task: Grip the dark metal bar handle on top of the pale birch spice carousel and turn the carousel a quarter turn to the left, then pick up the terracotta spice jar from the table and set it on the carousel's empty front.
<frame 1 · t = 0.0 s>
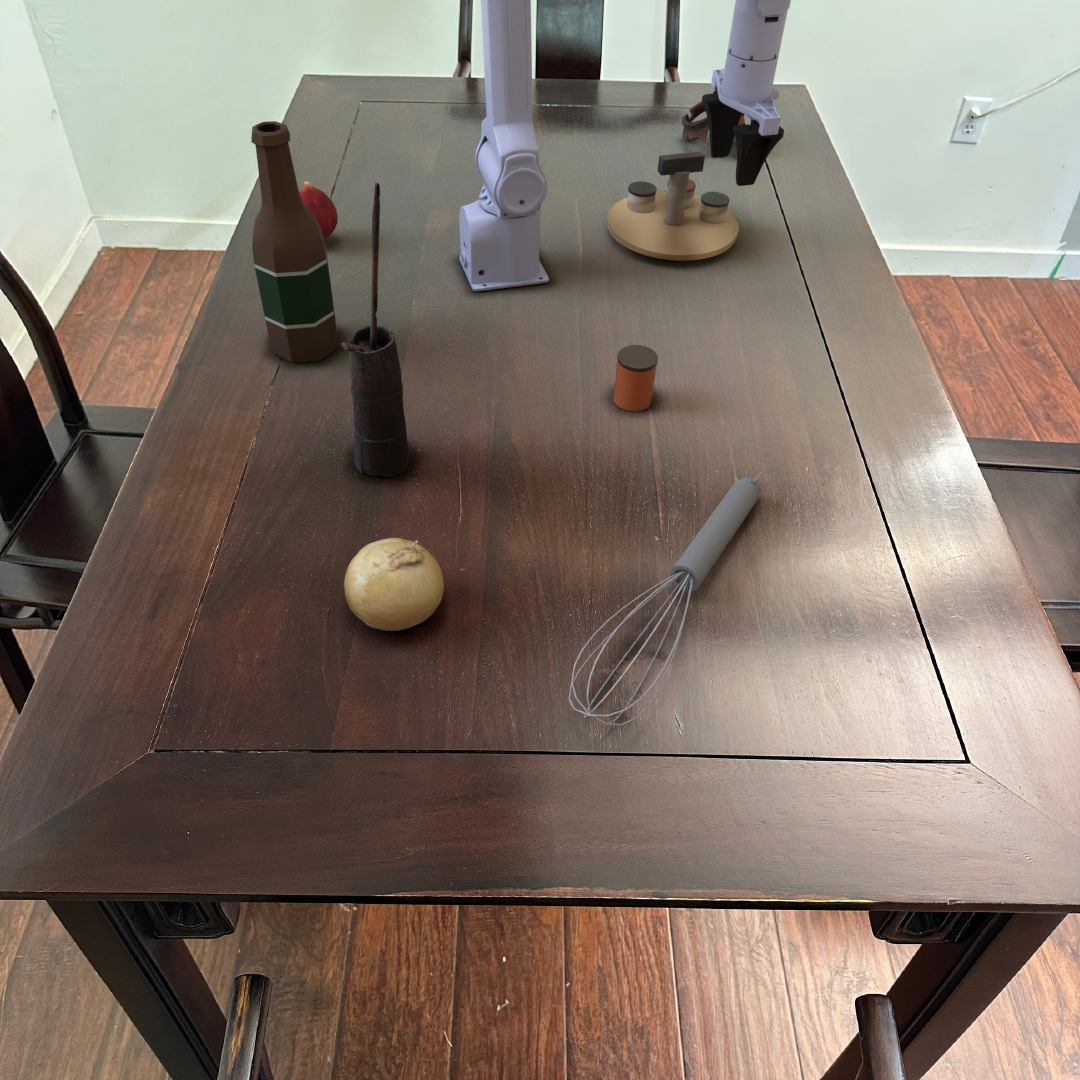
hand: (731, 170, 118), 10 cm above the table, tool pointing down, fingers open, 7 cm apart
brown curled loops: (717, 147, 146), on the table
butter churn: (373, 468, 93), on the table
spice carousel: (677, 192, 122), point 6 cm above the table, hinge at 0.0°
beer bottle: (305, 345, 107), on the table
onion: (317, 244, 122), on the table
kitchen whisk: (673, 600, 83), on the table
onion 2: (396, 608, 81), on the table
spice jar: (632, 399, 102), on the table
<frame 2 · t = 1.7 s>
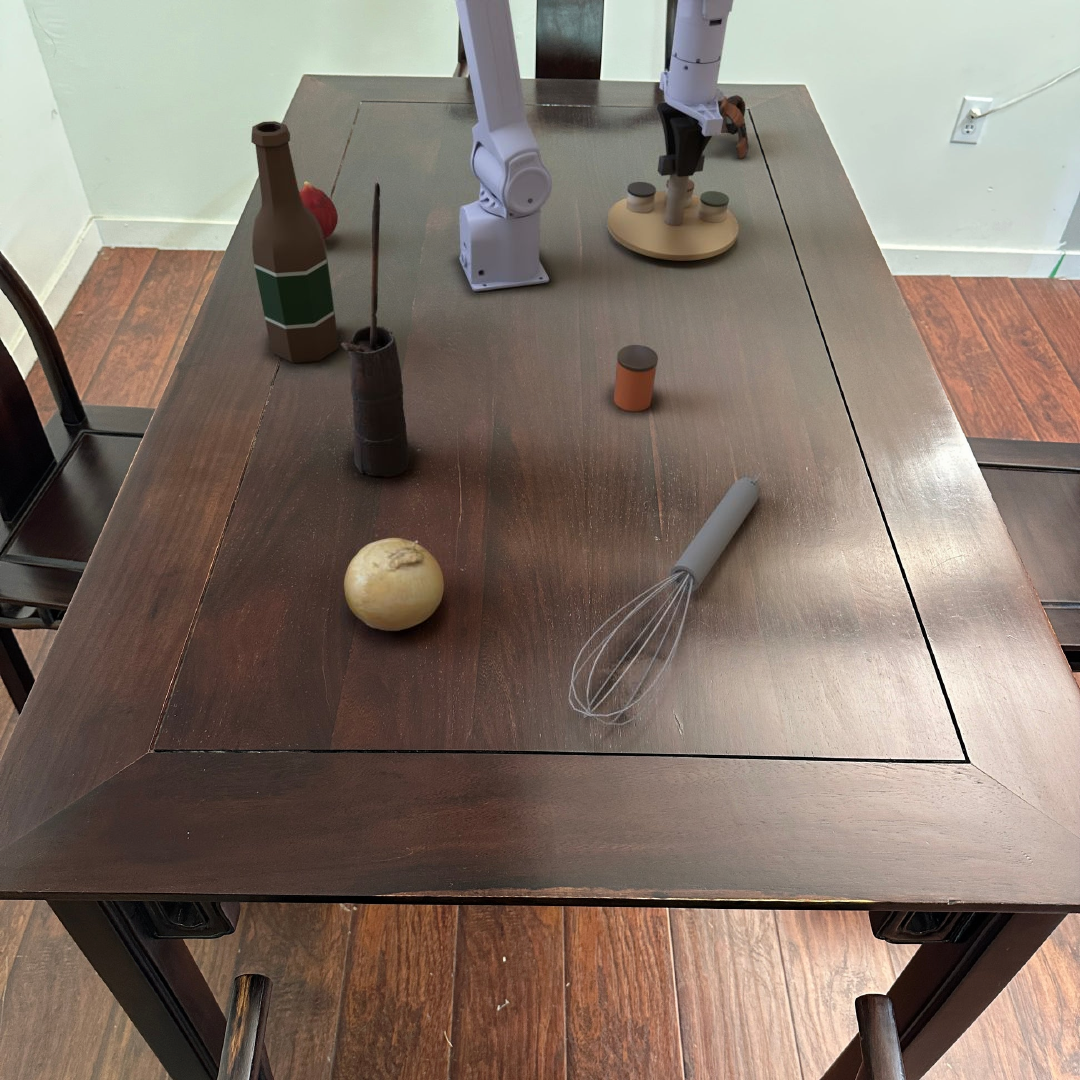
hand: (680, 169, 120), 9 cm above the table, tool pointing down, fingers closed on spice carousel, 2 cm apart
spice carousel: (677, 192, 122), point 6 cm above the table, hinge at 1.7°, touching gripper
everything else where it was.
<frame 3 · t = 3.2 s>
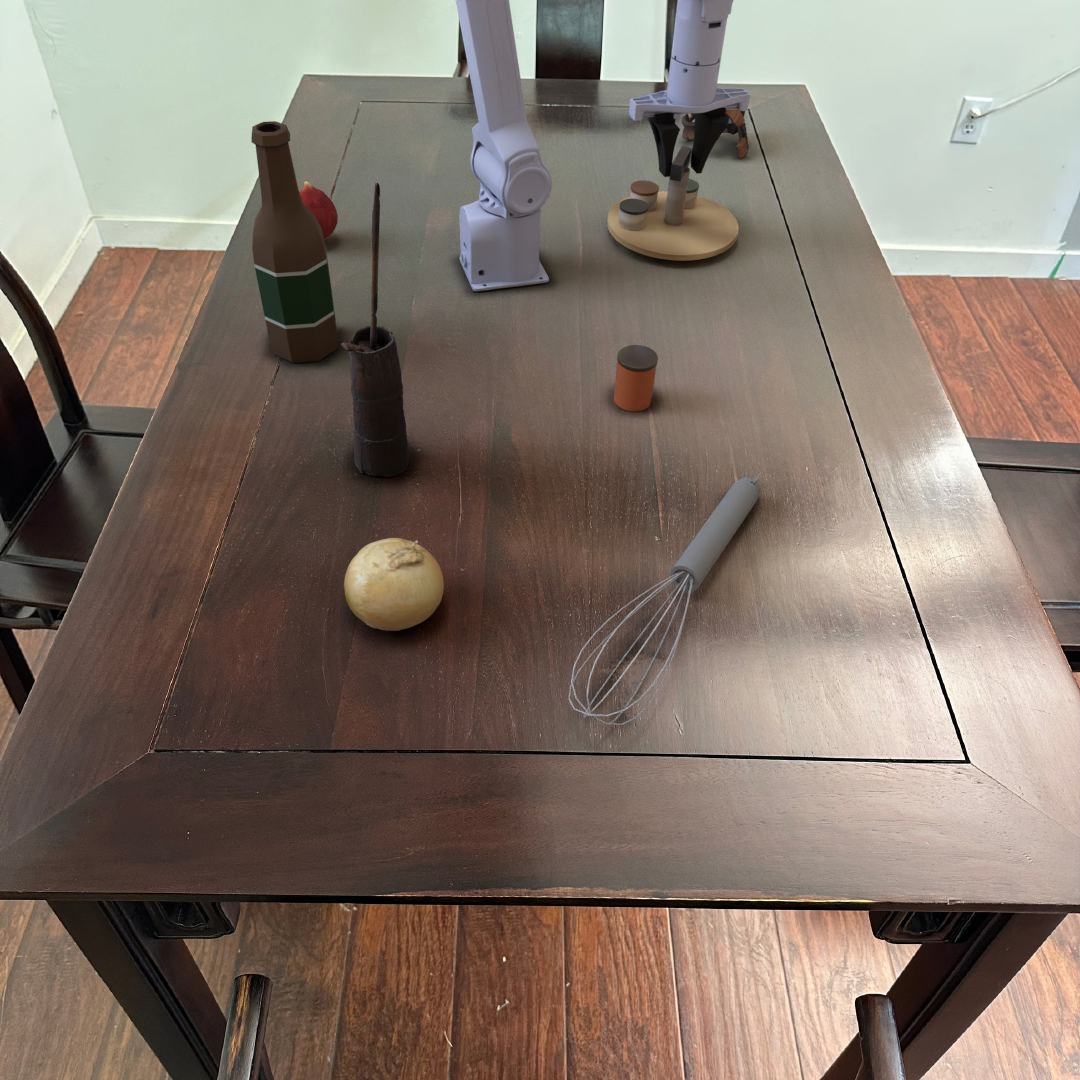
hand: (680, 171, 120), 9 cm above the table, tool pointing down, fingers closed on spice carousel, 4 cm apart
spice carousel: (677, 192, 122), point 6 cm above the table, hinge at 55.4°, touching gripper
everything else where it was.
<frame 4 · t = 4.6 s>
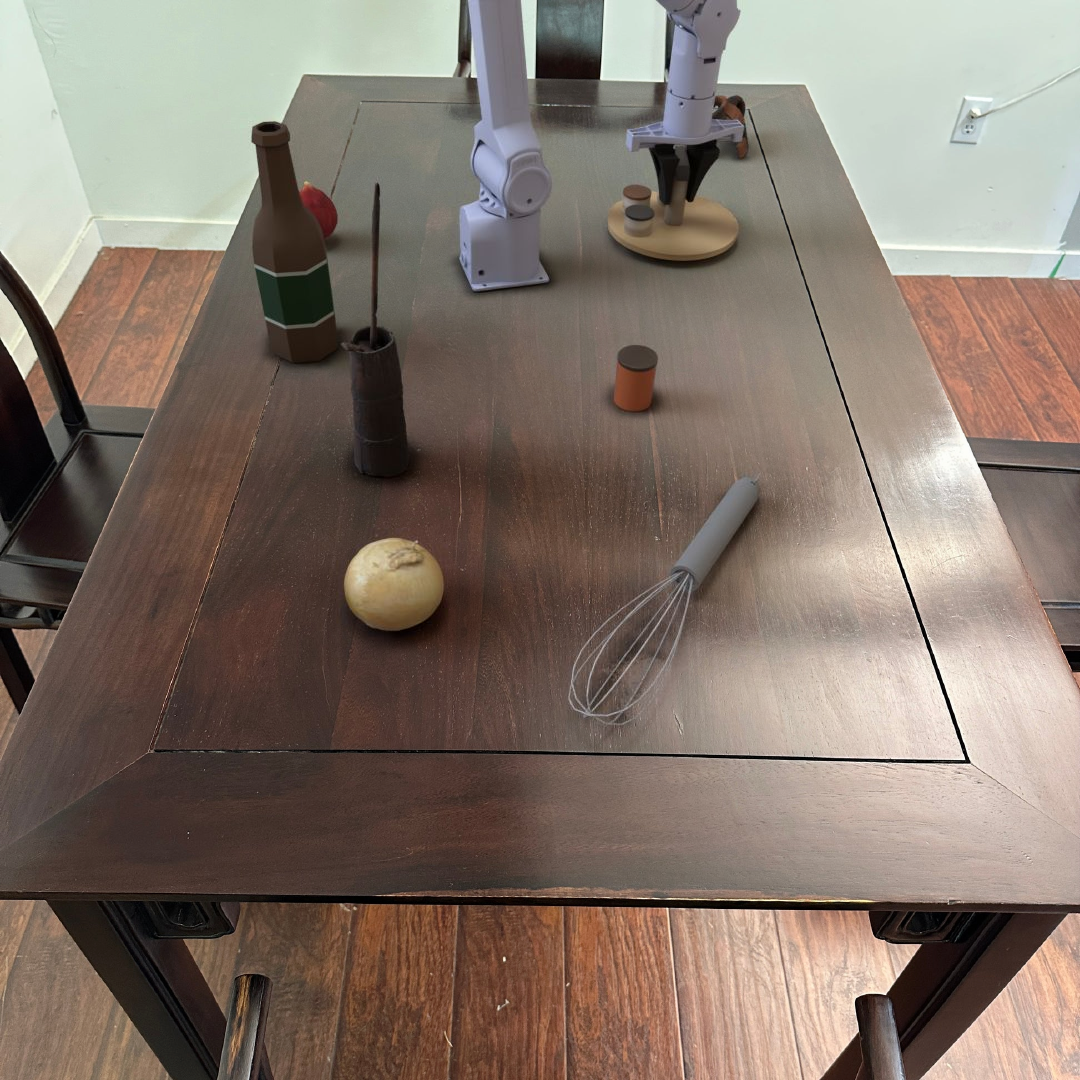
hand: (676, 200, 123), 5 cm above the table, tool pointing down, fingers closed on spice carousel, 3 cm apart
spice carousel: (677, 192, 122), point 6 cm above the table, hinge at 73.0°, touching gripper
everything else where it was.
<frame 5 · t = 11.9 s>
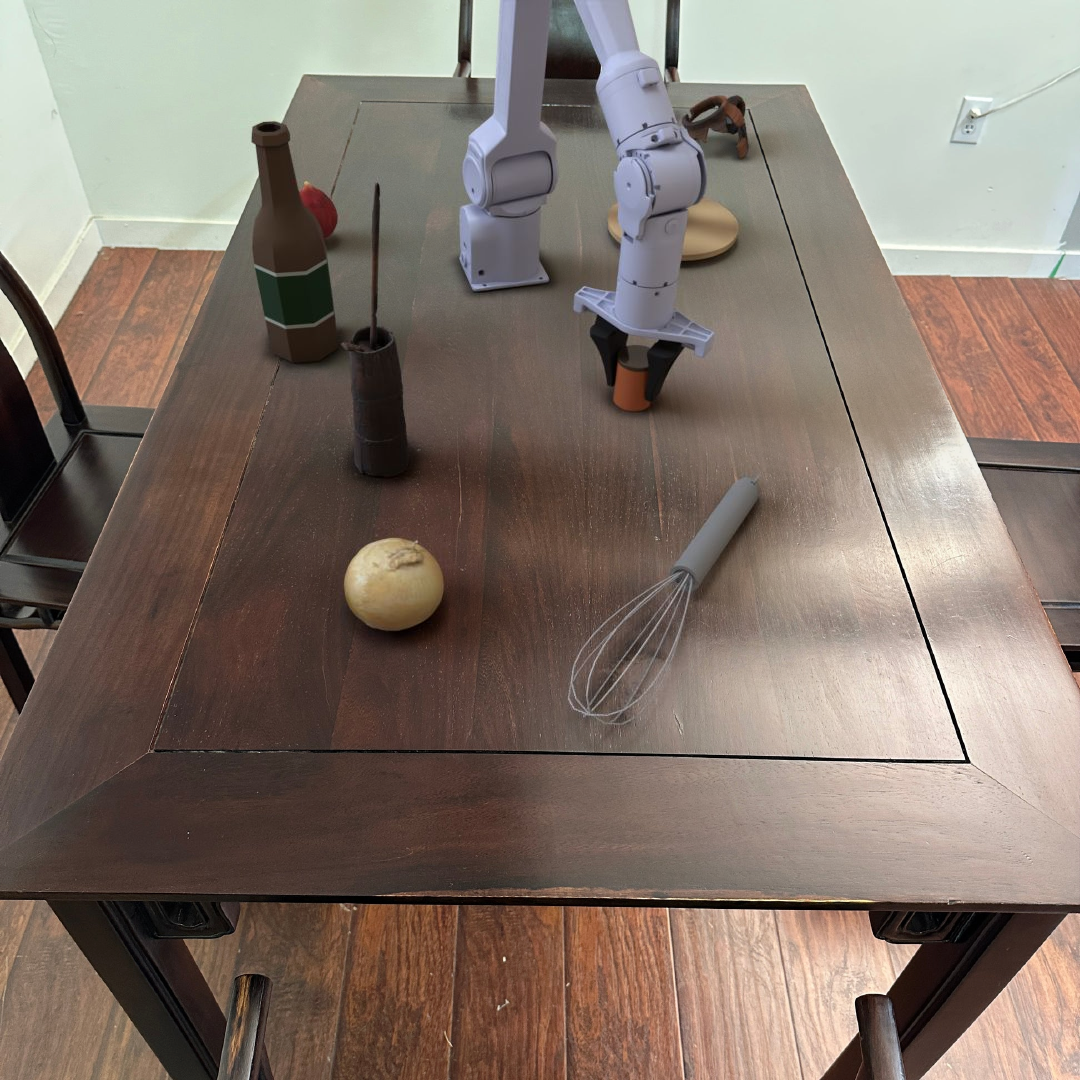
hand: (633, 389, 101), 1 cm above the table, tool pointing down, fingers closed on spice jar, 4 cm apart
spice carousel: (677, 192, 122), point 6 cm above the table, hinge at 73.0°
spice jar: (632, 399, 102), on the table, touching gripper
everything else where it was.
when the fingers open (3 cm above the table, at t = 17.7 s): spice jar stays where it is, resting on spice carousel.
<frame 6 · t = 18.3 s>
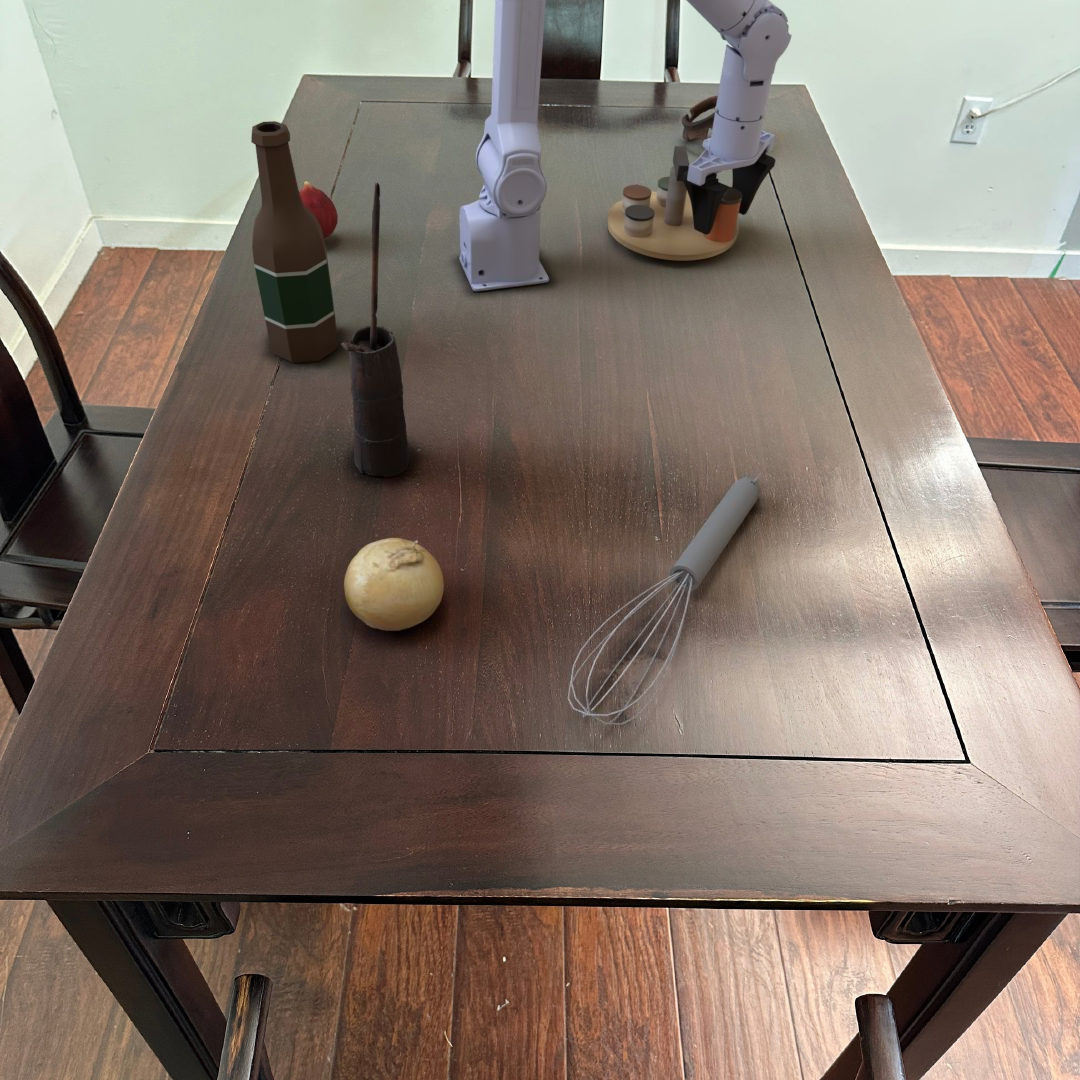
hand: (720, 221, 122), 4 cm above the table, tool pointing down, fingers open, 7 cm apart
spice carousel: (677, 192, 122), point 6 cm above the table, hinge at 73.4°, touching spice jar
spice jar: (718, 234, 123), point 2 cm above the table, touching spice carousel
everything else where it was.
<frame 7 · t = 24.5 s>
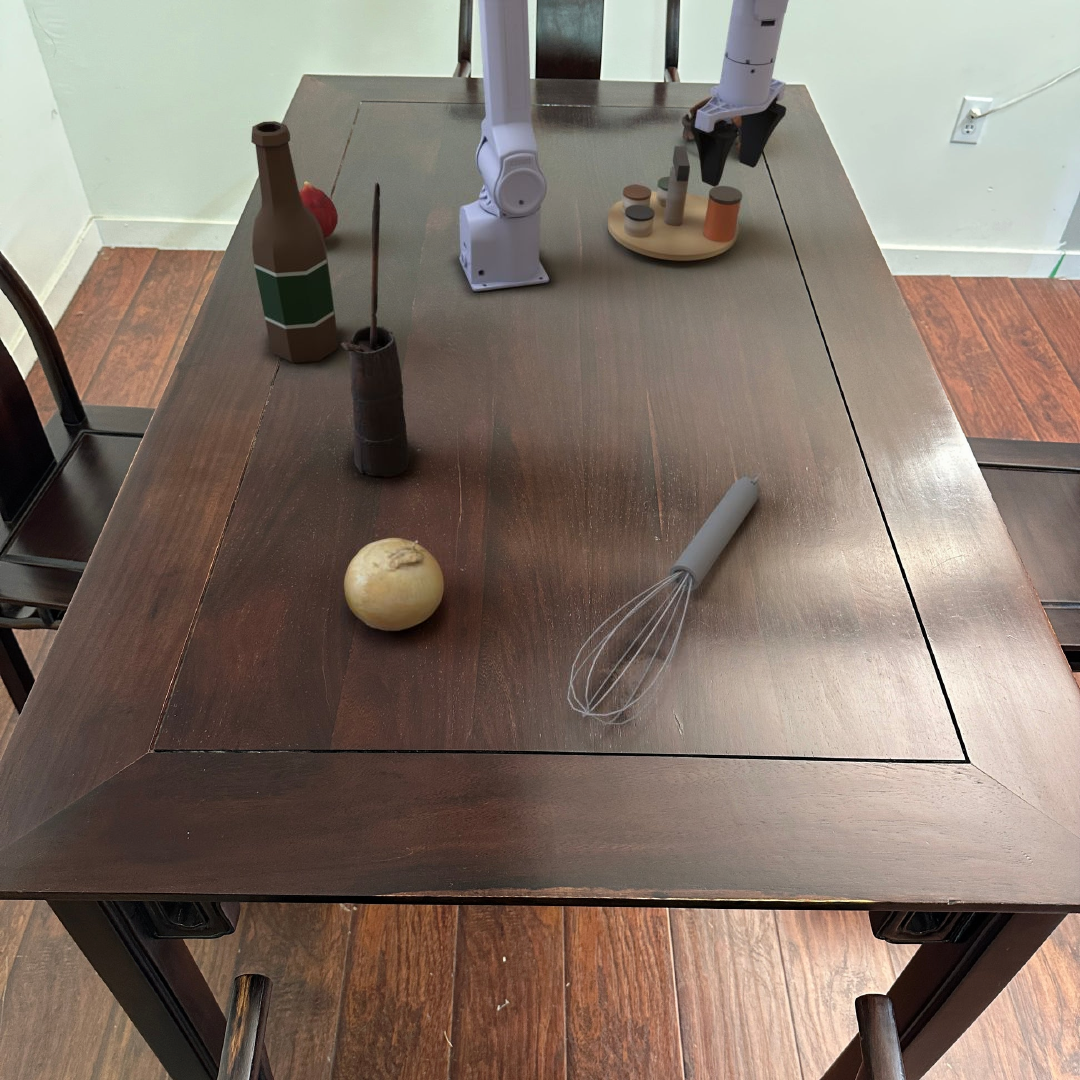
hand: (729, 173, 117), 10 cm above the table, tool pointing down, fingers open, 7 cm apart
nothing on the table moved.
at the end: spice carousel at +73° (first picture: +0°); spice jar 0.1 cm from the target spot on the spice carousel, point 1.9 cm above the spice carousel's base; spice jar tilted 0° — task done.
